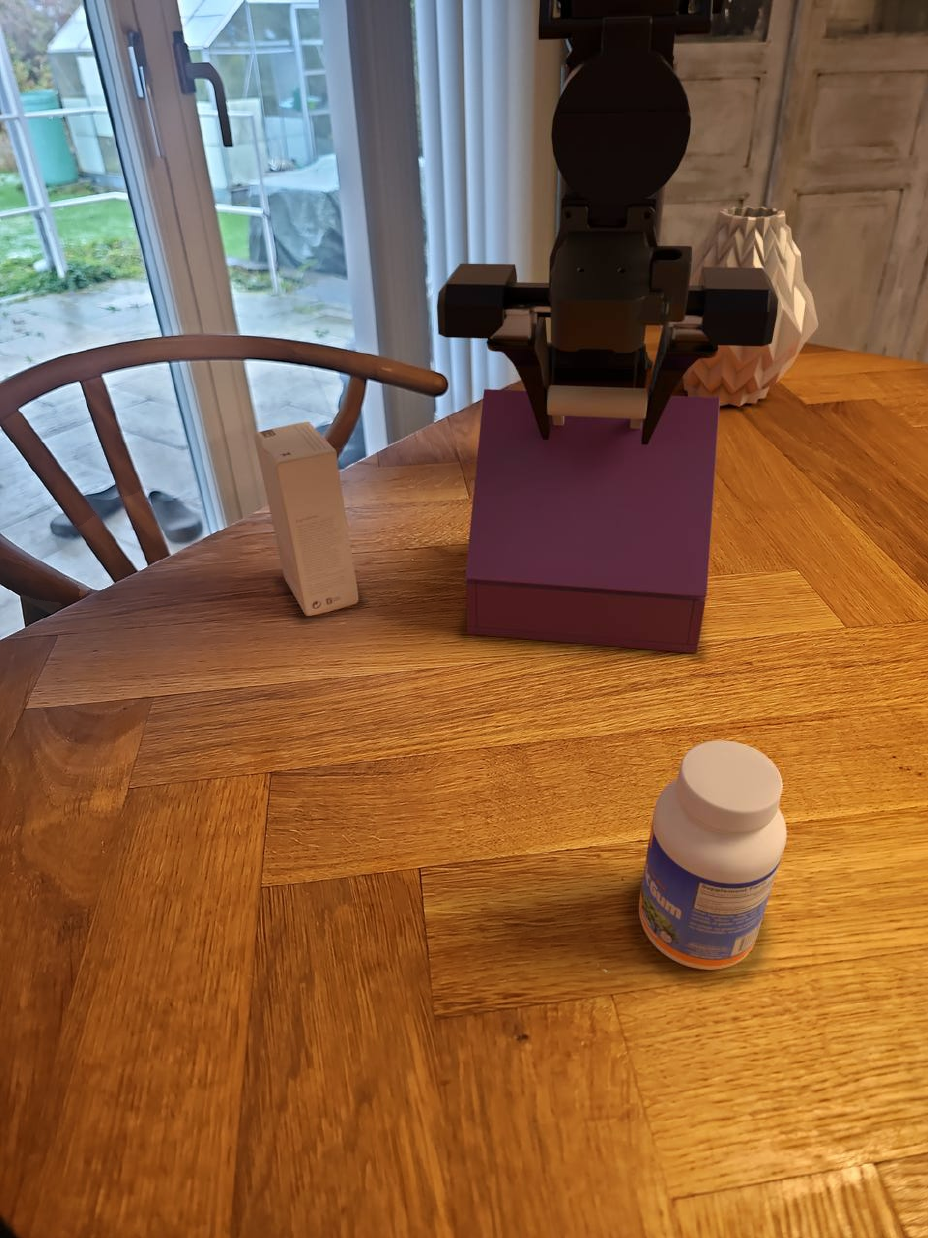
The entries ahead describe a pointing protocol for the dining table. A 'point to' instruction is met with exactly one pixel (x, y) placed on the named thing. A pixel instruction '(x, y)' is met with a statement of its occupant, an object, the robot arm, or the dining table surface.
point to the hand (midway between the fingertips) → (594, 439)
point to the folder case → (584, 616)
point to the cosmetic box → (308, 516)
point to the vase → (770, 247)
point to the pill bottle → (713, 855)
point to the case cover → (594, 492)
